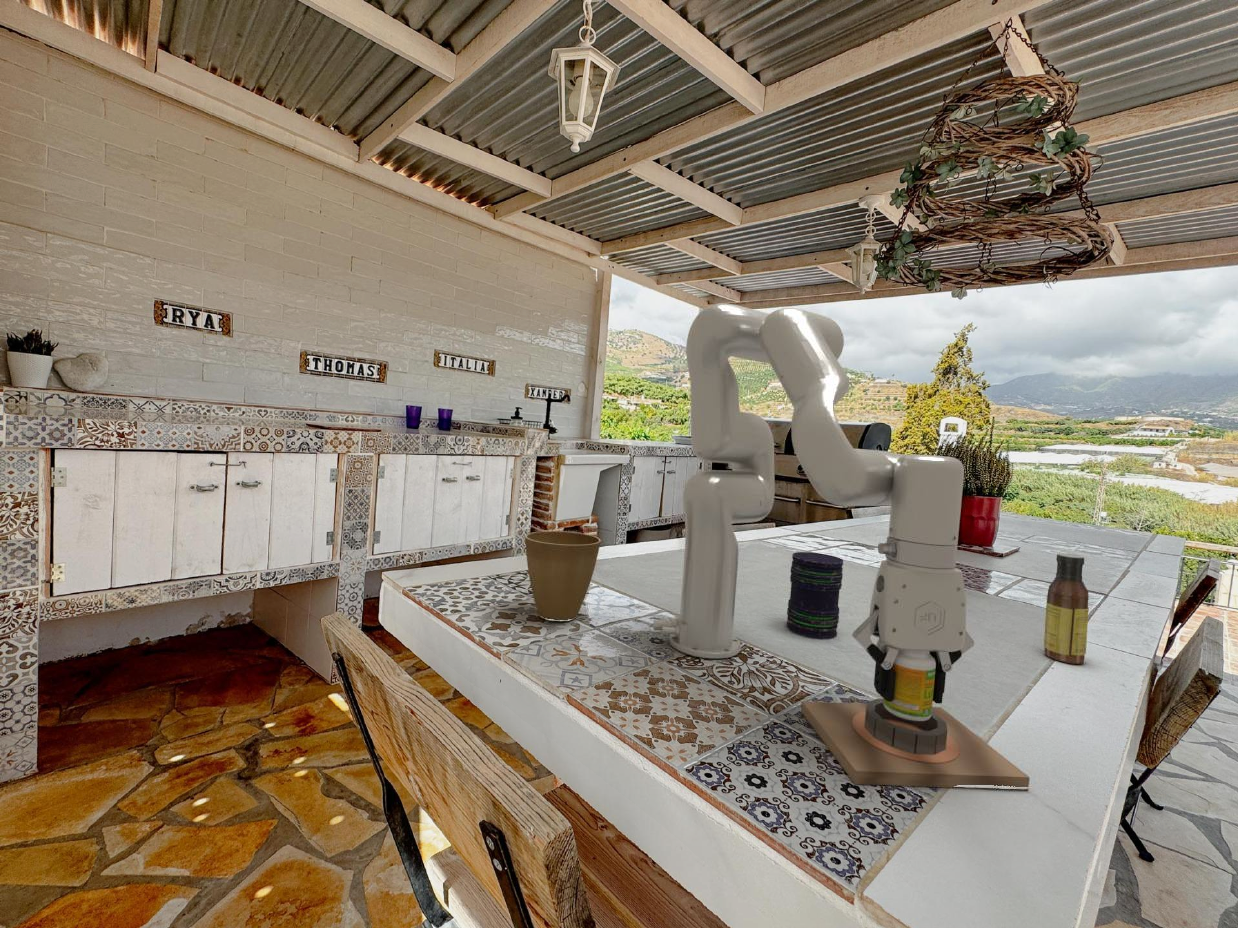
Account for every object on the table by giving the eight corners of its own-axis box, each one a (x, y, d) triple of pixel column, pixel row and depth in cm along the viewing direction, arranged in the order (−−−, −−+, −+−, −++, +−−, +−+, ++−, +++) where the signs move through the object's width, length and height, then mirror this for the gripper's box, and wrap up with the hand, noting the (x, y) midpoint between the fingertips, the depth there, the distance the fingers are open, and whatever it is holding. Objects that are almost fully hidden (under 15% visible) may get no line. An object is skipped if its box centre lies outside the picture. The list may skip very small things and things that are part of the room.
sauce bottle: (1078, 657, 107) (1089, 555, 106) (1089, 668, 101) (1102, 560, 100) (1036, 649, 110) (1047, 550, 109) (1045, 660, 104) (1057, 555, 103)
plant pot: (593, 632, 103) (599, 547, 102) (513, 626, 103) (518, 541, 103) (597, 607, 118) (602, 532, 117) (527, 602, 118) (532, 527, 117)
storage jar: (847, 635, 111) (854, 561, 110) (817, 642, 105) (823, 565, 105) (806, 619, 119) (811, 550, 118) (775, 625, 114) (781, 553, 113)
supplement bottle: (929, 727, 66) (937, 647, 66) (880, 713, 69) (886, 636, 68) (932, 709, 71) (938, 634, 70) (885, 697, 73) (891, 625, 73)
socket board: (854, 783, 62) (858, 748, 61) (801, 711, 78) (803, 683, 77) (1028, 790, 63) (1031, 755, 62) (939, 717, 79) (942, 689, 78)
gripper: (868, 557, 65) (855, 709, 66) (1010, 565, 65) (995, 715, 66) (839, 544, 72) (828, 681, 73) (967, 551, 73) (954, 686, 74)
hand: (908, 695), depth 70 cm, fingers closed on supplement bottle, 5 cm apart
